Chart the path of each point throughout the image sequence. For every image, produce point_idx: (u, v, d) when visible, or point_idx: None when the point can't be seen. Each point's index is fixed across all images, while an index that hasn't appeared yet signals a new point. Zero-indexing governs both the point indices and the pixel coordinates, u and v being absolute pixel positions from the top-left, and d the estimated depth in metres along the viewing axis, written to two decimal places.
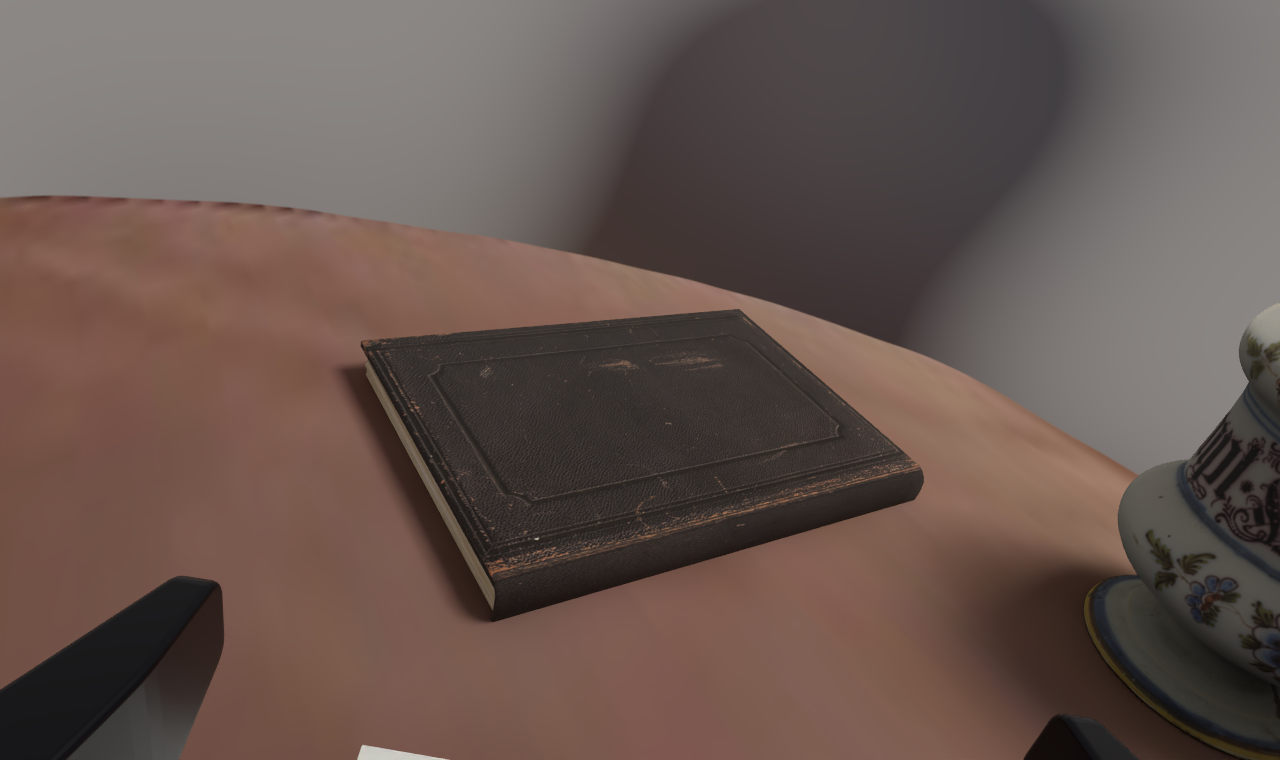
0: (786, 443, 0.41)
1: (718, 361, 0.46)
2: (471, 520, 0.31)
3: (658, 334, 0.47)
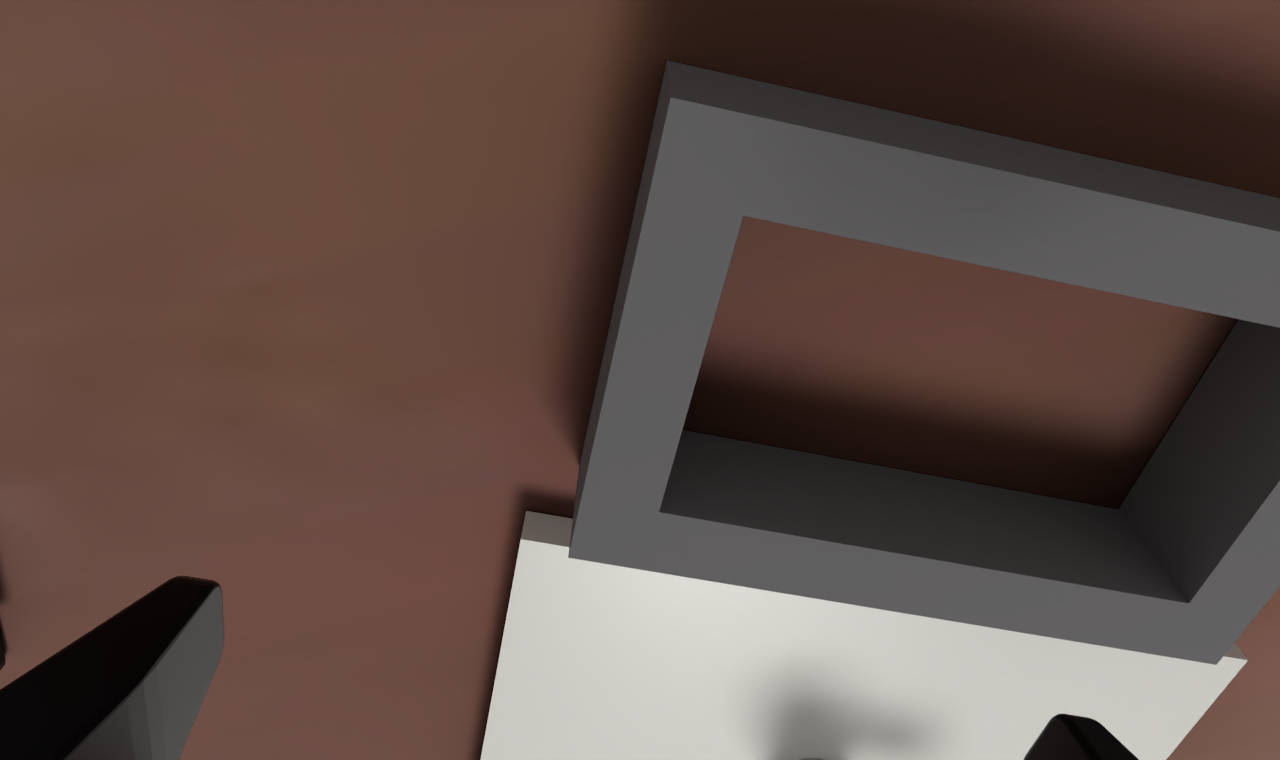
0: None
1: None
2: None
3: None
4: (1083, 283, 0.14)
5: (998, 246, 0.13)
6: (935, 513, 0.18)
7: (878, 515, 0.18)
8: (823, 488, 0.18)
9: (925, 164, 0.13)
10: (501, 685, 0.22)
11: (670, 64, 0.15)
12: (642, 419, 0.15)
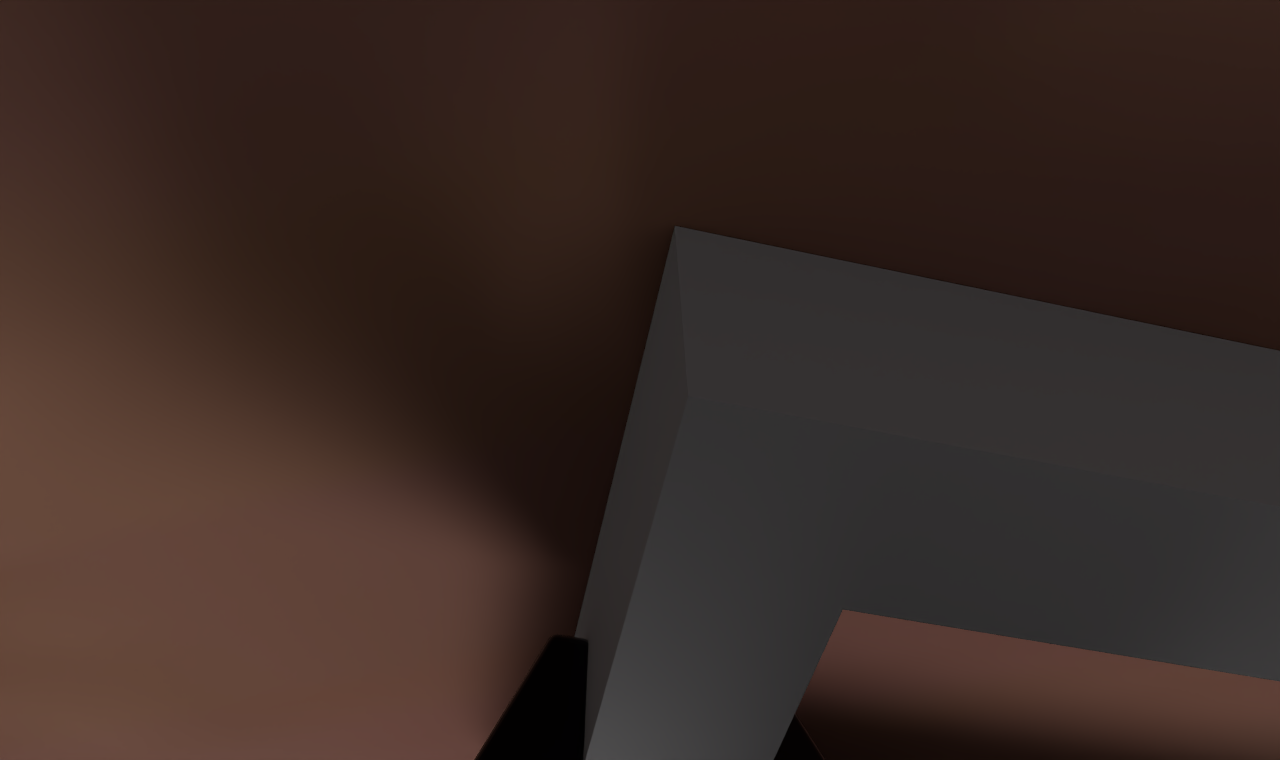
0: None
1: None
2: None
3: None
4: None
5: None
6: None
7: None
8: None
9: (1260, 522, 0.06)
10: None
11: (682, 240, 0.07)
12: None
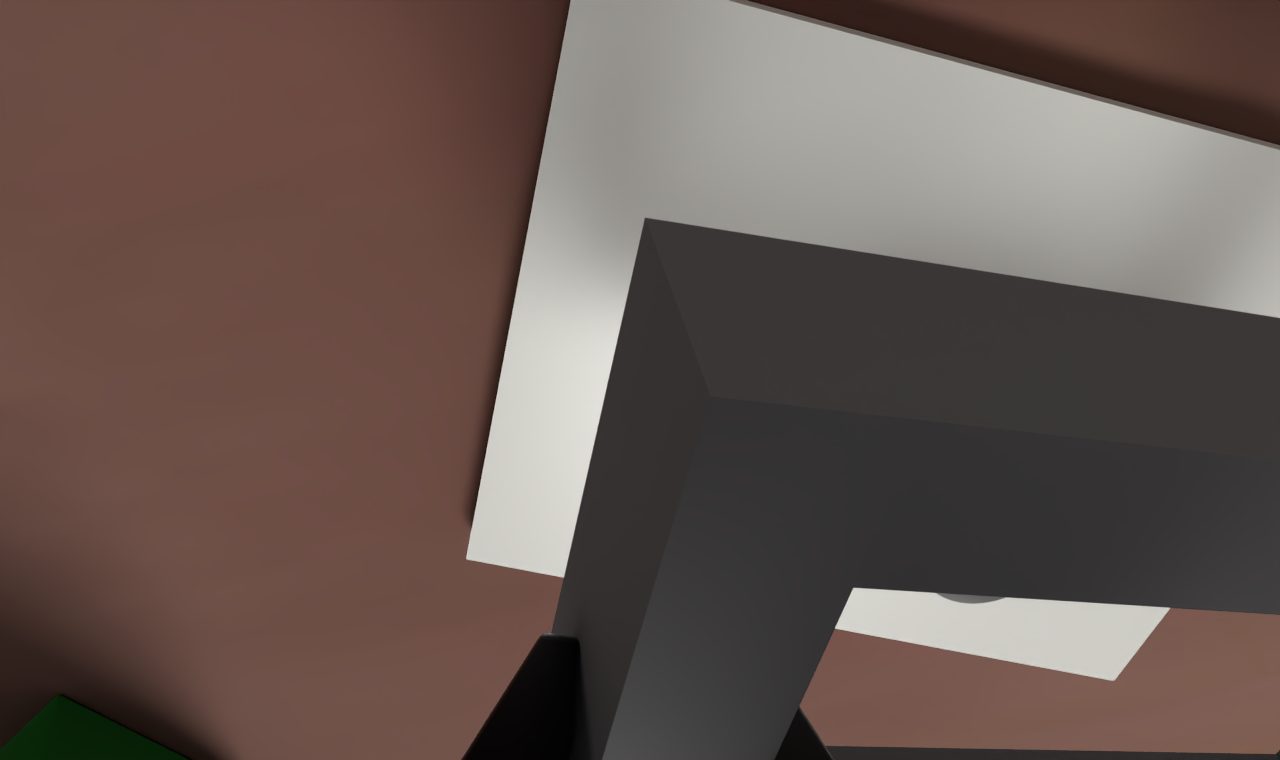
0: None
1: None
2: None
3: None
4: None
5: None
6: None
7: None
8: None
9: (1227, 472, 0.06)
10: (537, 227, 0.17)
11: (656, 232, 0.07)
12: None
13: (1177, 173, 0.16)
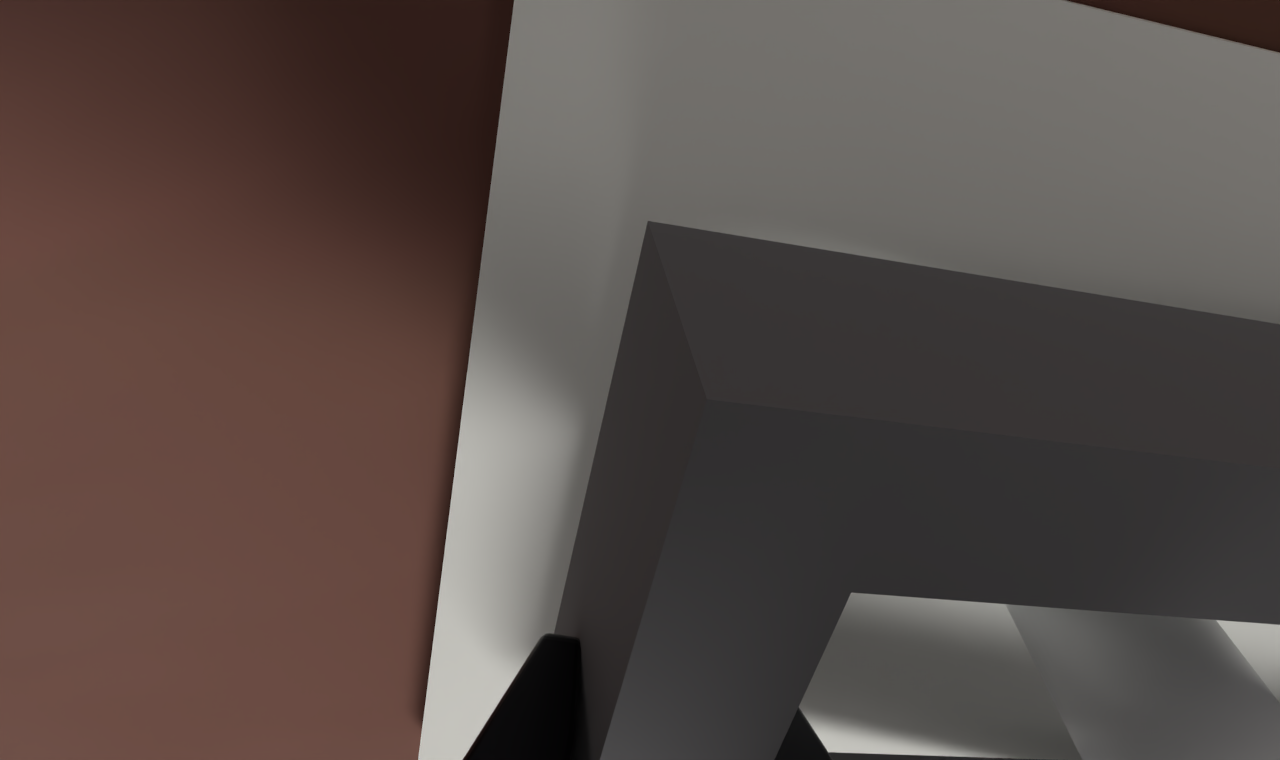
0: None
1: None
2: None
3: None
4: None
5: None
6: None
7: None
8: None
9: (1229, 480, 0.06)
10: (487, 335, 0.10)
11: (658, 235, 0.07)
12: None
13: None
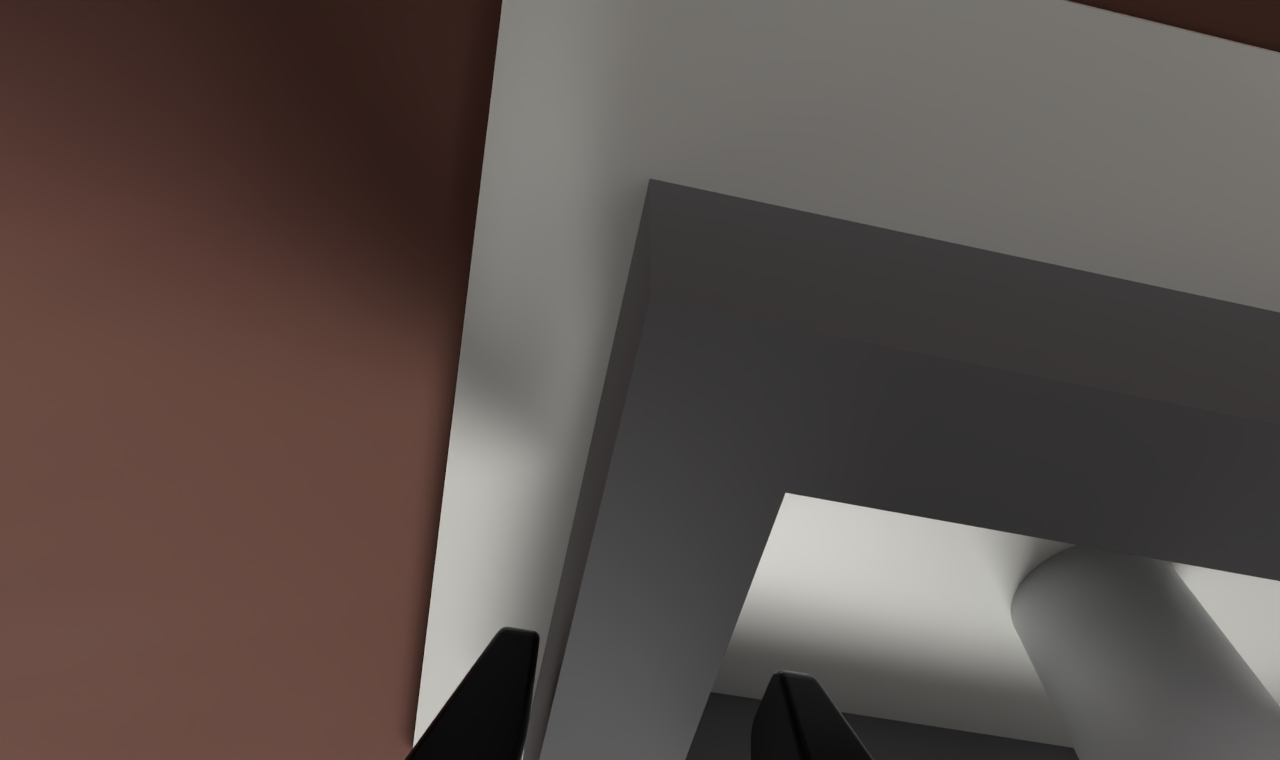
0: None
1: None
2: None
3: None
4: None
5: (1248, 540, 0.07)
6: None
7: None
8: None
9: (1133, 414, 0.07)
10: (477, 352, 0.10)
11: (655, 189, 0.09)
12: None
13: None
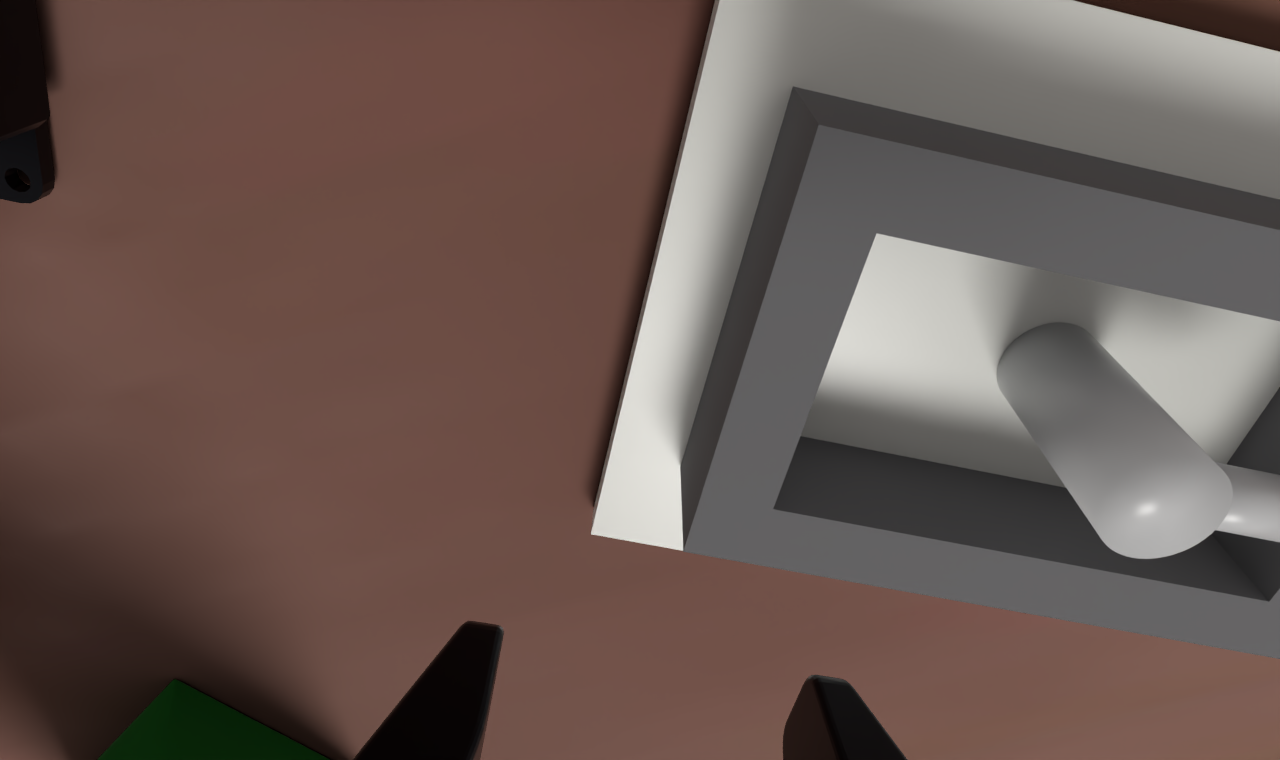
0: None
1: None
2: None
3: None
4: (1190, 299, 0.15)
5: (1112, 263, 0.14)
6: (1024, 513, 0.19)
7: (972, 514, 0.19)
8: (918, 489, 0.19)
9: (1050, 187, 0.14)
10: (682, 193, 0.17)
11: (798, 90, 0.16)
12: (765, 421, 0.16)
13: None
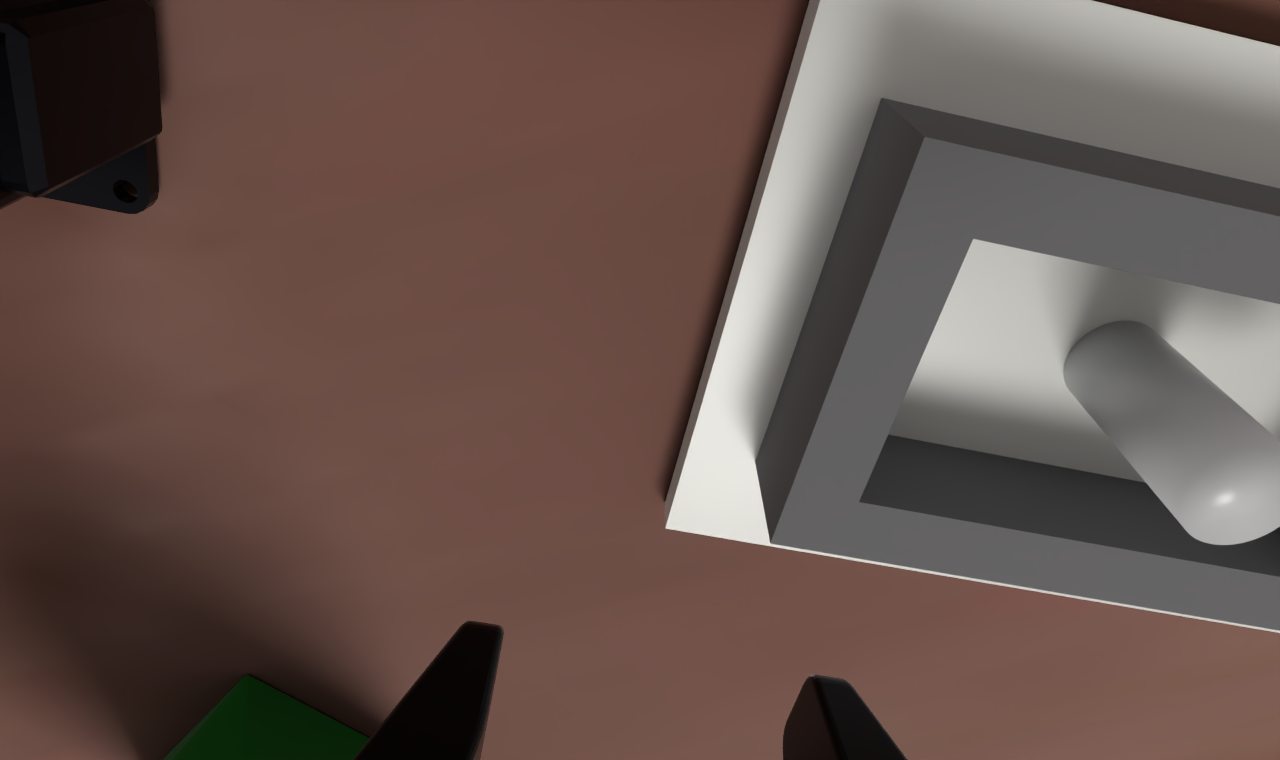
0: None
1: None
2: None
3: None
4: (1266, 298, 0.15)
5: (1194, 265, 0.15)
6: (1090, 504, 0.20)
7: (1043, 505, 0.19)
8: (989, 481, 0.20)
9: (1139, 194, 0.15)
10: (770, 200, 0.18)
11: (888, 101, 0.16)
12: (856, 418, 0.17)
13: None
